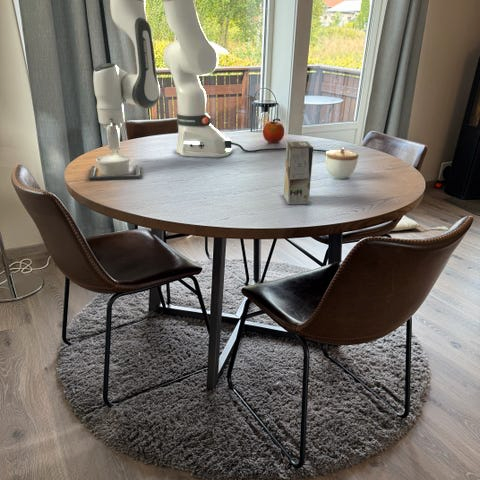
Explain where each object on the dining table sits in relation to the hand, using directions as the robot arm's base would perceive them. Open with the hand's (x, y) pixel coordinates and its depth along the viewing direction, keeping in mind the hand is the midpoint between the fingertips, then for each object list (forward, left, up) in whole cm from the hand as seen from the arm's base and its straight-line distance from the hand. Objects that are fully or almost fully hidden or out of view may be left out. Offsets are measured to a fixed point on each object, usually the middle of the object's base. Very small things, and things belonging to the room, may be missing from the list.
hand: (116, 157), depth 178 cm
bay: (-4, +9, -3) cm, 10 cm away
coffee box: (-70, +15, -3) cm, 71 cm away
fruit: (-41, -62, -3) cm, 74 cm away
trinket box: (-78, -16, -3) cm, 80 cm away
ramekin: (-4, +9, -3) cm, 11 cm away
